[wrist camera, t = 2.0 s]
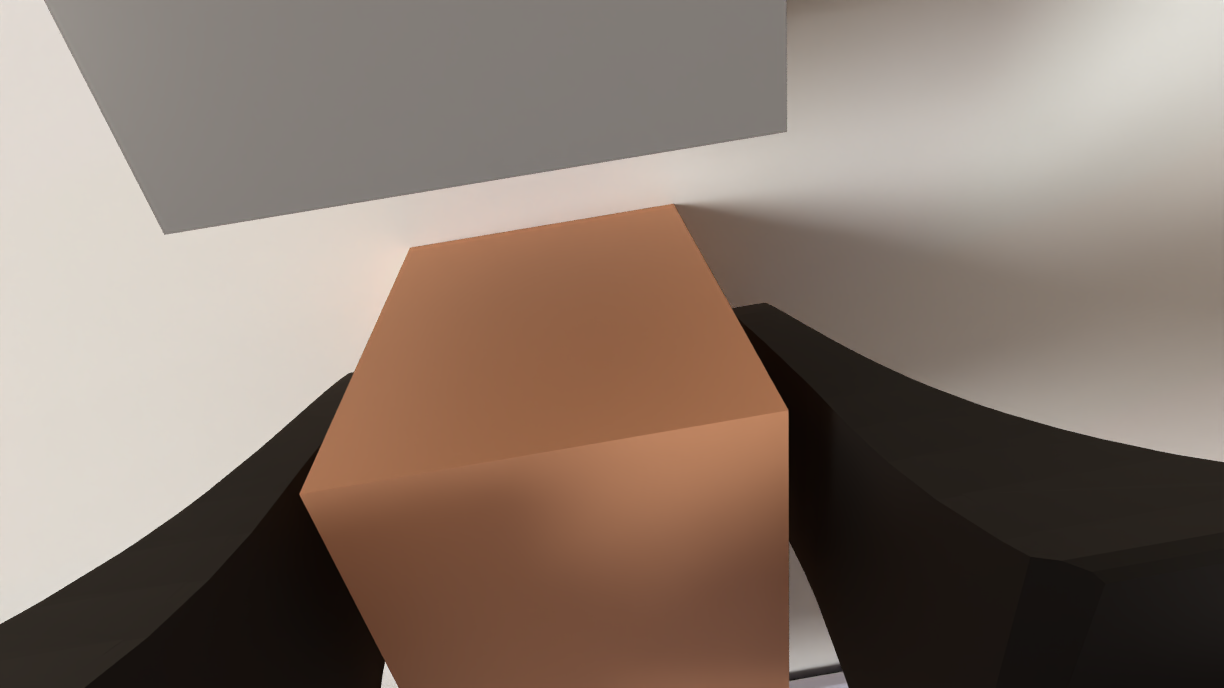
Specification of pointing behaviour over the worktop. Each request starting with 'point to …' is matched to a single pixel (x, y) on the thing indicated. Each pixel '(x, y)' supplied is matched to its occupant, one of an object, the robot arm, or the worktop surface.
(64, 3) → the charcoal block
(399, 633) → the terracotta block
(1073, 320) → the worktop surface
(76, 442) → the worktop surface
